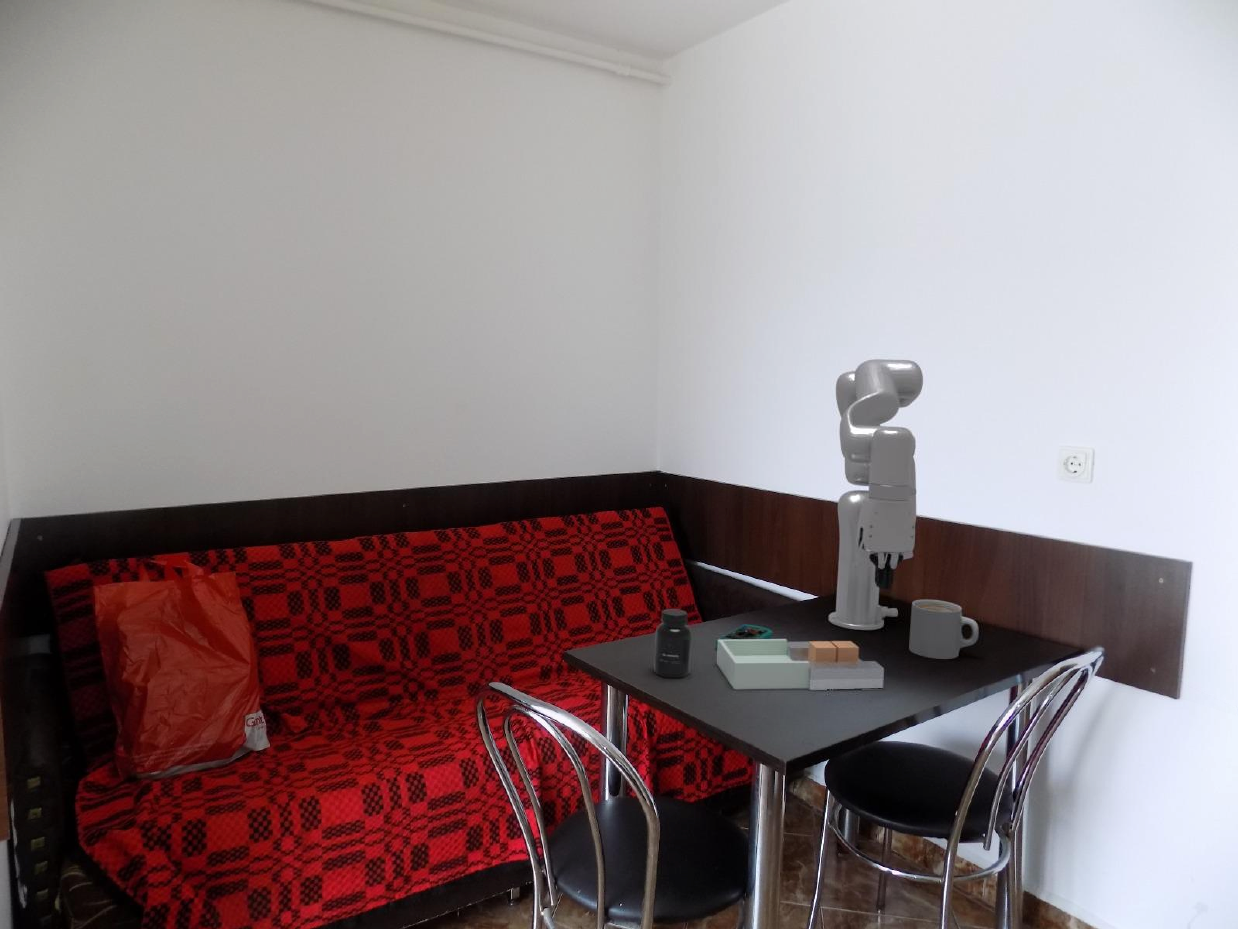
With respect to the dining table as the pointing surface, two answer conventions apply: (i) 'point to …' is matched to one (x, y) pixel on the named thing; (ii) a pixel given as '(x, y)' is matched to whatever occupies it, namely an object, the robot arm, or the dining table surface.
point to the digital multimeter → (748, 633)
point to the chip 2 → (846, 651)
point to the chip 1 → (821, 651)
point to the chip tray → (760, 664)
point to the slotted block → (837, 671)
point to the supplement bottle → (672, 645)
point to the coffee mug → (939, 629)
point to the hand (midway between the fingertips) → (883, 587)
